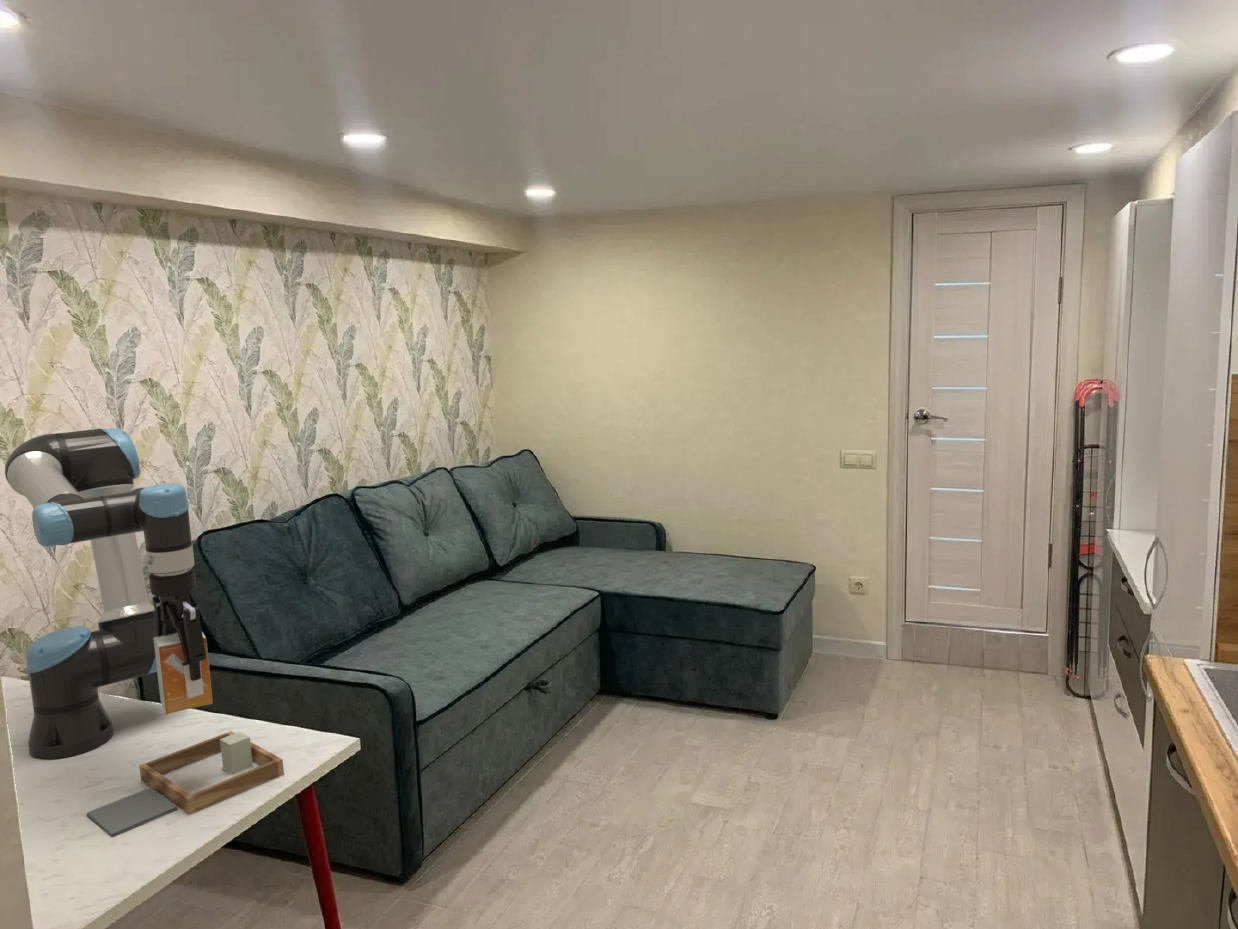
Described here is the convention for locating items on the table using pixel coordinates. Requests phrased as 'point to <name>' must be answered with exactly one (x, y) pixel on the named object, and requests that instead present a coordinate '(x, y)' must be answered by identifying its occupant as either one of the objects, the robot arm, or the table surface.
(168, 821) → the table surface
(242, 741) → the sage block
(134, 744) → the table surface
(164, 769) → the bin
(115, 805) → the mat
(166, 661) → the small box
